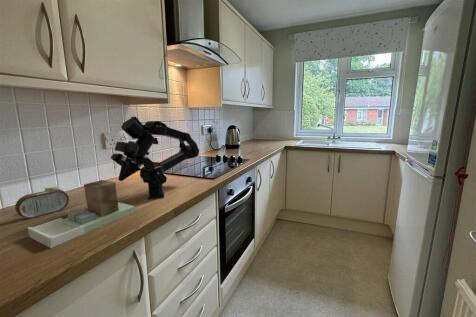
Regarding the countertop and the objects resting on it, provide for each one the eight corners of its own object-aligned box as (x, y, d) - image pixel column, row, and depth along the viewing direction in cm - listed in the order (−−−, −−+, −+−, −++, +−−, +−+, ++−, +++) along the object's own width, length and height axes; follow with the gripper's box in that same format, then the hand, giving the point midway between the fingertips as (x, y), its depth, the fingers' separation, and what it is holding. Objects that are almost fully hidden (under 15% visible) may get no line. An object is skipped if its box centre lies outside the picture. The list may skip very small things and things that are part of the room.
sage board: (115, 206, 92) (114, 201, 91) (135, 211, 86) (134, 206, 86) (63, 225, 76) (62, 219, 76) (83, 233, 71) (82, 227, 70)
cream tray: (62, 224, 77) (60, 216, 76) (84, 233, 70) (83, 224, 70) (29, 236, 69) (27, 227, 69) (50, 248, 63) (48, 237, 62)
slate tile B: (81, 214, 80) (80, 209, 79) (88, 216, 78) (87, 211, 77) (68, 219, 76) (67, 213, 76) (74, 221, 74) (73, 215, 74)
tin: (68, 206, 93) (65, 186, 91) (71, 208, 91) (67, 187, 89) (17, 220, 82) (12, 197, 80) (19, 222, 80) (14, 198, 78)
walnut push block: (105, 206, 86) (101, 180, 84) (118, 210, 82) (115, 182, 80) (88, 212, 81) (83, 184, 79) (101, 216, 77) (97, 187, 75)
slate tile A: (89, 217, 77) (88, 211, 77) (96, 219, 75) (95, 213, 75) (76, 222, 74) (75, 216, 74) (83, 224, 72) (82, 218, 72)
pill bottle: (47, 206, 93) (43, 186, 92) (61, 203, 96) (58, 183, 95) (47, 210, 90) (43, 189, 88) (62, 207, 93) (59, 186, 91)
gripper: (112, 132, 92) (87, 166, 85) (144, 133, 83) (119, 171, 76) (132, 150, 100) (110, 181, 93) (163, 152, 91) (142, 187, 84)
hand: (119, 180), depth 86 cm, fingers closed
